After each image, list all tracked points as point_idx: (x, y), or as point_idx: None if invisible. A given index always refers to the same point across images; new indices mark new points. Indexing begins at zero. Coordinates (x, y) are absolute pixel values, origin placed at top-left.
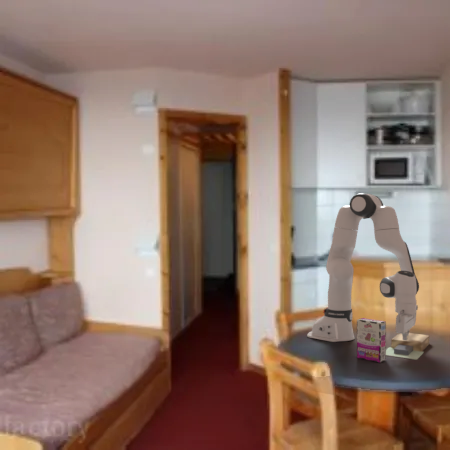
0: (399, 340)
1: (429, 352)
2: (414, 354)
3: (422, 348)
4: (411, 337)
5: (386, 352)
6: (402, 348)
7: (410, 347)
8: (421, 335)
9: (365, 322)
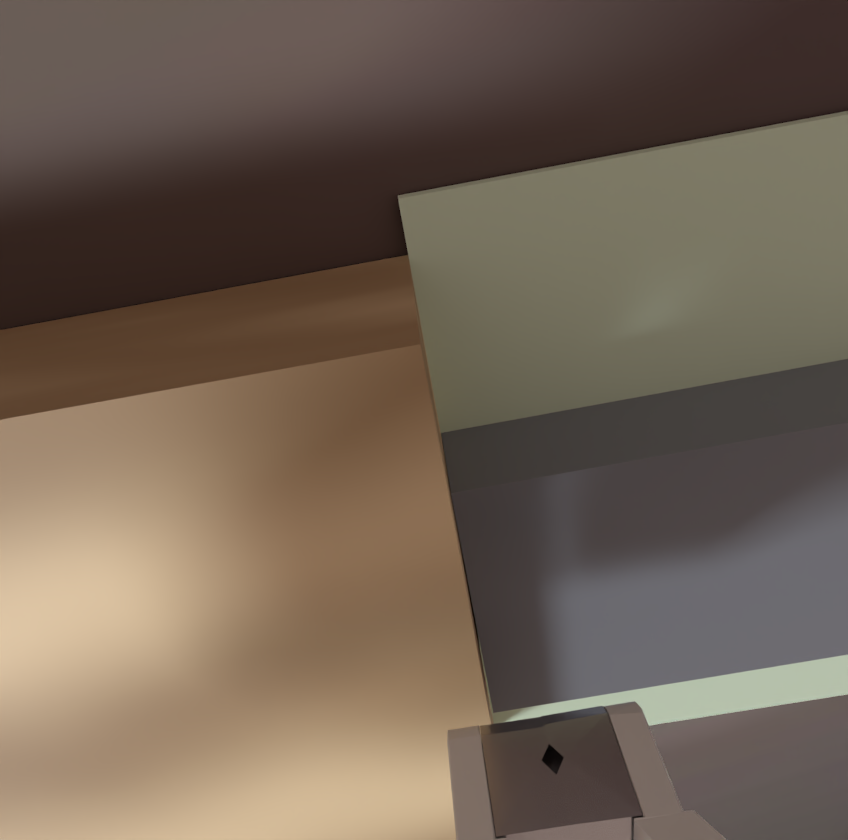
0: None
1: (283, 70)
2: (779, 275)
3: (290, 296)
4: (26, 750)
5: (836, 663)
6: (821, 557)
7: (646, 477)
8: None
9: None
